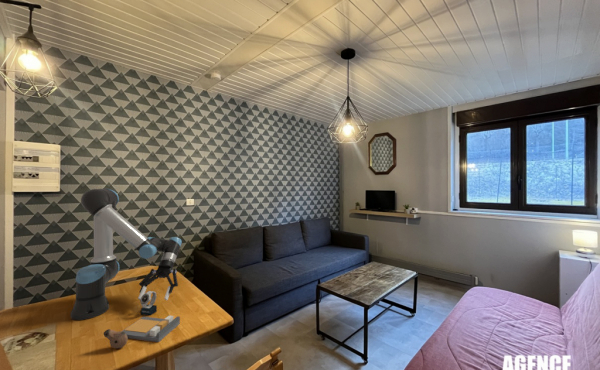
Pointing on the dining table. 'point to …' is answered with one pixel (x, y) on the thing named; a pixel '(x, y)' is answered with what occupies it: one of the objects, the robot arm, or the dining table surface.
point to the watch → (144, 301)
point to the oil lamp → (116, 338)
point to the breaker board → (151, 328)
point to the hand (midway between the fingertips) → (152, 299)
